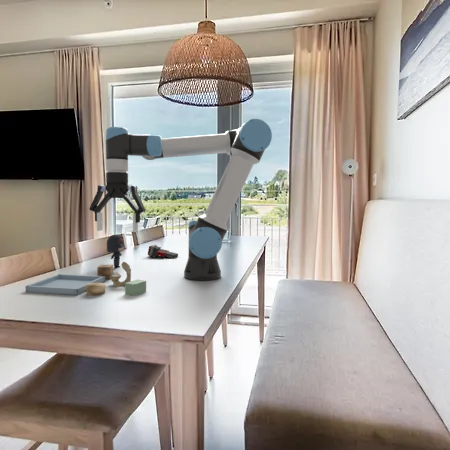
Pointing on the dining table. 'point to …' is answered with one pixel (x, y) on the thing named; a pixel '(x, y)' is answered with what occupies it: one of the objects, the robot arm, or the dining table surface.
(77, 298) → the dining table surface
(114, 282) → the beige curved figurine
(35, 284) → the tray
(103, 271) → the walnut cube
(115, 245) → the toy
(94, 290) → the oak disc
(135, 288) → the green painted block
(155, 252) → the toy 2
